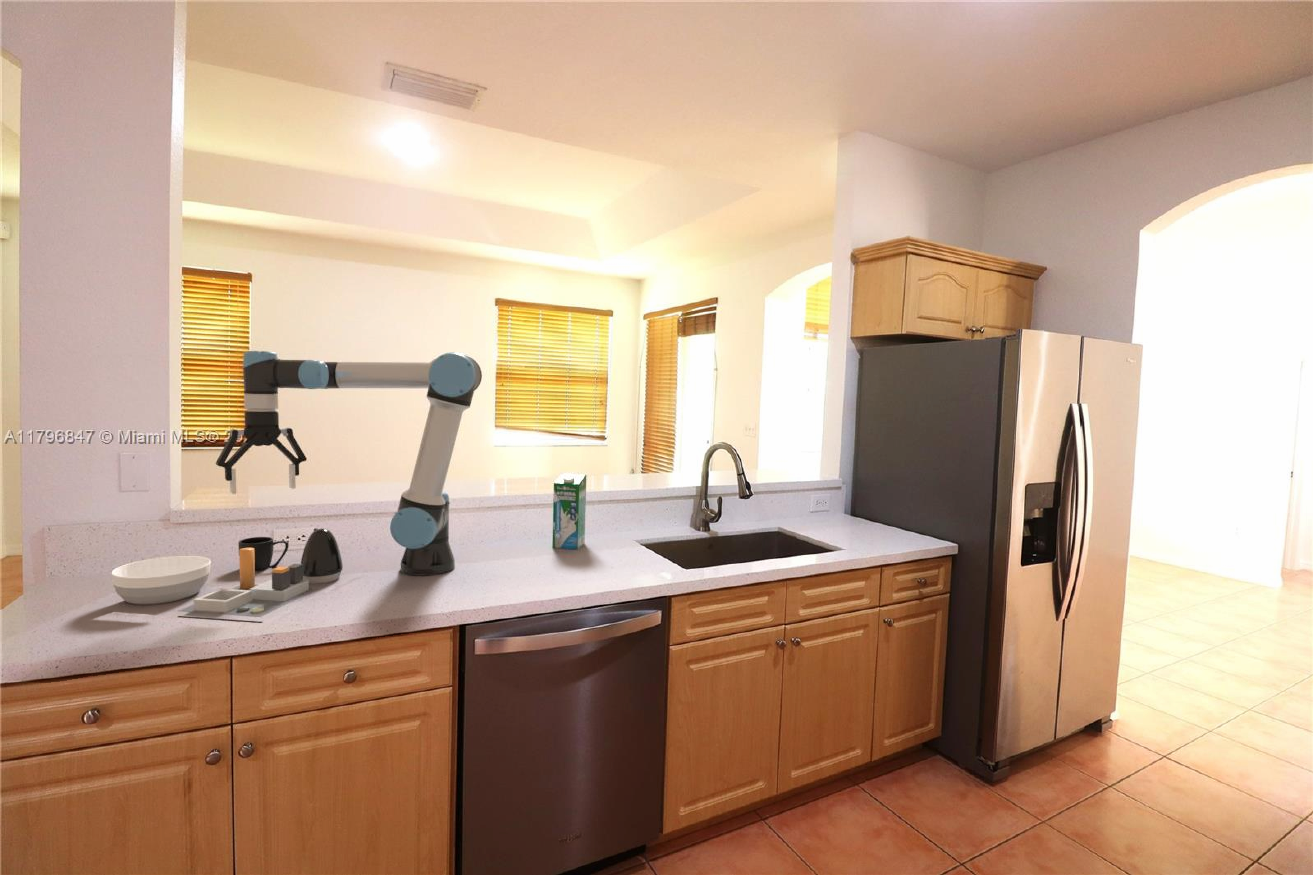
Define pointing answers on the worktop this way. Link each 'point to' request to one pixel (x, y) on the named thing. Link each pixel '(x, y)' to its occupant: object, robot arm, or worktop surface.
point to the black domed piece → (321, 557)
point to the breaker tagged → (280, 578)
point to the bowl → (161, 579)
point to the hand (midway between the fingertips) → (263, 490)
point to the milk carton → (569, 511)
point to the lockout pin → (247, 568)
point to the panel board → (247, 600)
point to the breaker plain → (296, 573)
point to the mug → (262, 551)
